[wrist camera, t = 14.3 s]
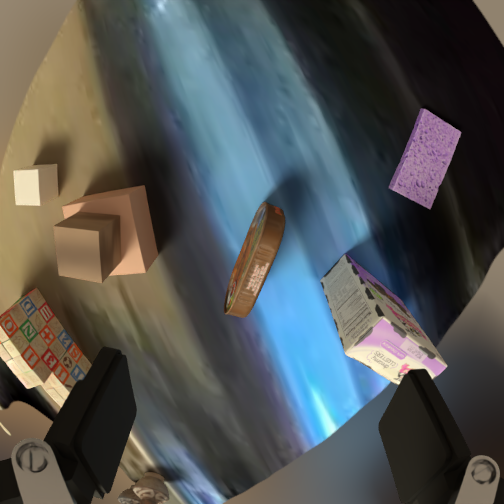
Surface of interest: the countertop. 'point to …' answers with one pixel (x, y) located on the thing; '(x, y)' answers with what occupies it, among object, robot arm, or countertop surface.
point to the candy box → (377, 324)
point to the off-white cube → (36, 184)
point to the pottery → (146, 491)
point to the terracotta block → (124, 225)
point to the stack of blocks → (40, 347)
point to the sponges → (425, 159)
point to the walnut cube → (88, 245)
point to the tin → (254, 260)
